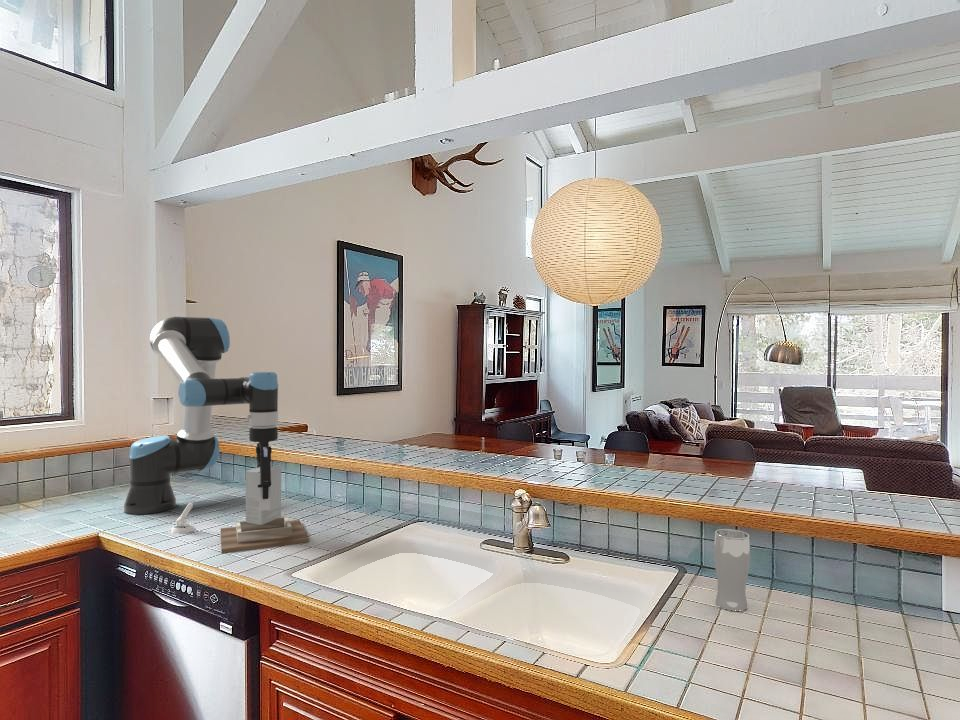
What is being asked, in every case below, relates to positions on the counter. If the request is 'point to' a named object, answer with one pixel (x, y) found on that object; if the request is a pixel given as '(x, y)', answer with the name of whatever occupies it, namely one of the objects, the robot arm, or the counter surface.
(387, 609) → the counter surface
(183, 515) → the hook
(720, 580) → the beer glass
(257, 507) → the skincare box
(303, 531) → the holder board
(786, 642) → the counter surface
